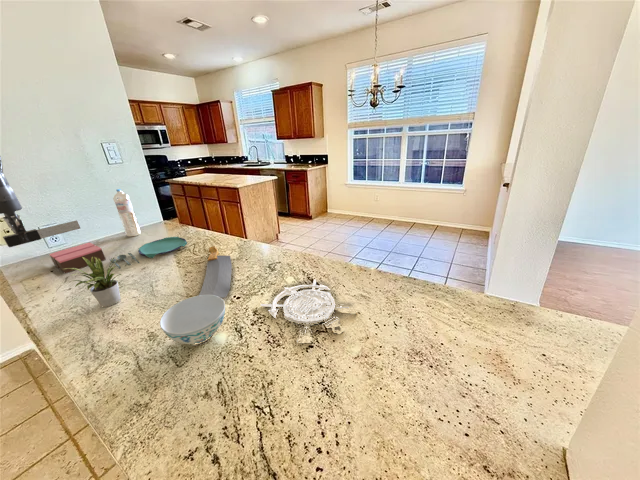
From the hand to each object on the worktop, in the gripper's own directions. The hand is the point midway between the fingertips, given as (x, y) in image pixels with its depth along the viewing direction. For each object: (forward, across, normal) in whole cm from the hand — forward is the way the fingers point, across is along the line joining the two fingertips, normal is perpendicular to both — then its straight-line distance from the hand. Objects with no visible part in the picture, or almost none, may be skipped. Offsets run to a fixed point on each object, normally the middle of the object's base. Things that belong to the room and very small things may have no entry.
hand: (24, 242), depth 103 cm
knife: (0, 0, +7) cm, 7 cm away
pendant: (+14, +111, +35) cm, 117 cm away
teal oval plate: (+14, +25, +32) cm, 43 cm away
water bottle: (+13, -10, +40) cm, 43 cm away
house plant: (+14, +51, +5) cm, 53 cm away
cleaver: (+14, +68, +36) cm, 78 cm away
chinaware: (+14, +92, +11) cm, 94 cm away
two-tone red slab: (+13, +5, +12) cm, 18 cm away
